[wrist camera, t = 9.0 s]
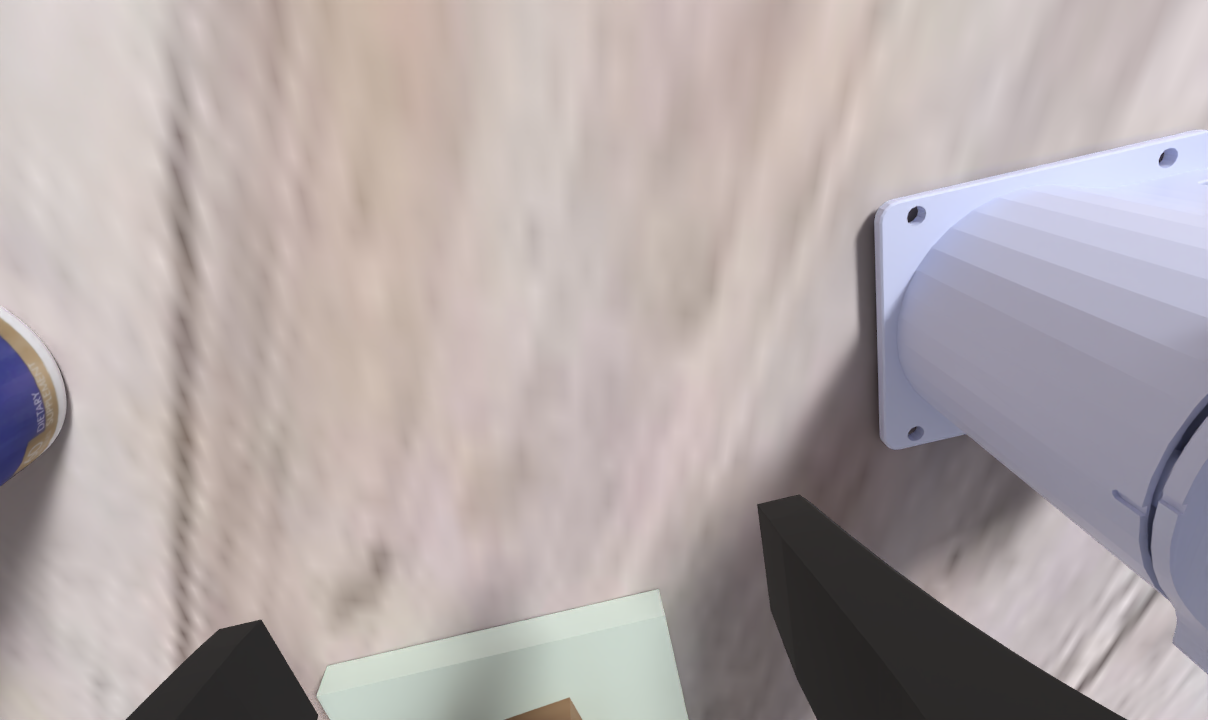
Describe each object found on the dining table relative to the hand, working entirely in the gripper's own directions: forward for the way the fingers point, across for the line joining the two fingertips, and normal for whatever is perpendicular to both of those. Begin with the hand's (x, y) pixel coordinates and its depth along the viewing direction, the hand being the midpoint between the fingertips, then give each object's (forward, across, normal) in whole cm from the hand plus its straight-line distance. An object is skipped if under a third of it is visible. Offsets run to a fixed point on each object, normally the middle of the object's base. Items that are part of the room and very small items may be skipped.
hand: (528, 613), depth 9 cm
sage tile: (+10, +4, +16) cm, 19 cm away
